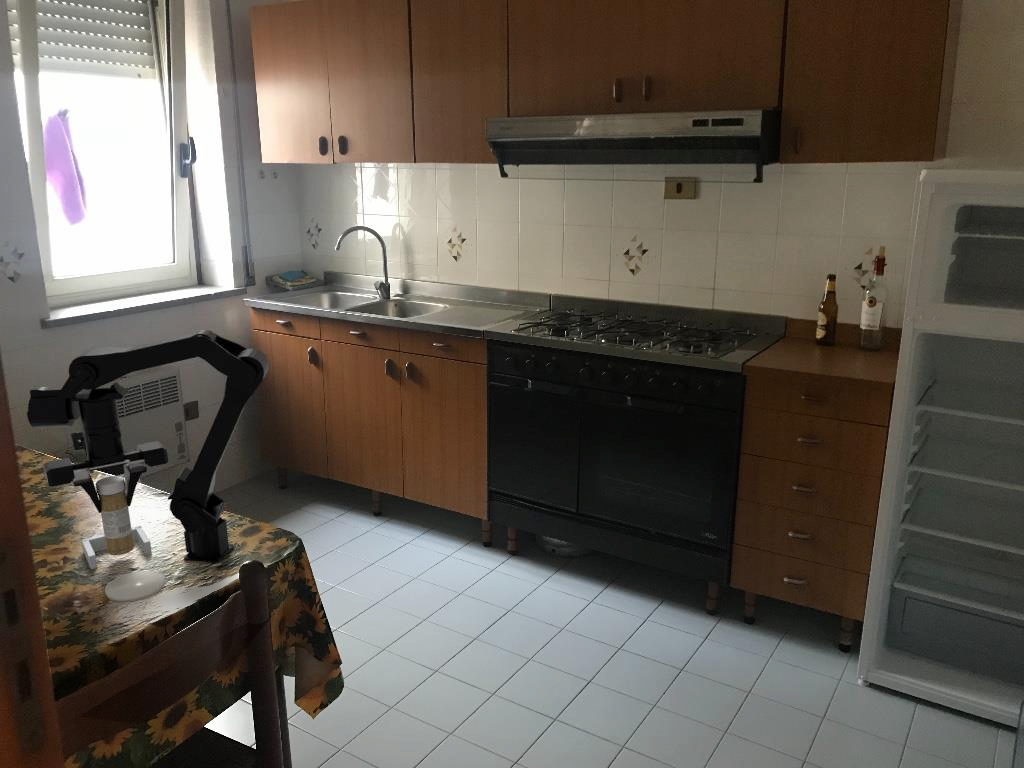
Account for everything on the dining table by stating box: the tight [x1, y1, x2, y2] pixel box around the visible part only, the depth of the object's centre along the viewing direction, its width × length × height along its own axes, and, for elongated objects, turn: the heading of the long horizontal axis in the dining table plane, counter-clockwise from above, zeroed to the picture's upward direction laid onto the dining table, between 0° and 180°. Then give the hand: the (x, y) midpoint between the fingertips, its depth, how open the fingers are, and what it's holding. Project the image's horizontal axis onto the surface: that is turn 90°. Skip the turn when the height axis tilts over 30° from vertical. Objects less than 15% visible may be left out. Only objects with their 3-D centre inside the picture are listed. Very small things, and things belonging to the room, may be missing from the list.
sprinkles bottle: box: [95, 475, 135, 556], centre depth 145 cm, size 5×5×14 cm
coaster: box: [104, 570, 166, 603], centre depth 137 cm, size 9×9×1 cm
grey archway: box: [81, 525, 153, 570], centre depth 149 cm, size 8×10×2 cm
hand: (114, 508), depth 144 cm, fingers closed on sprinkles bottle, 4 cm apart
